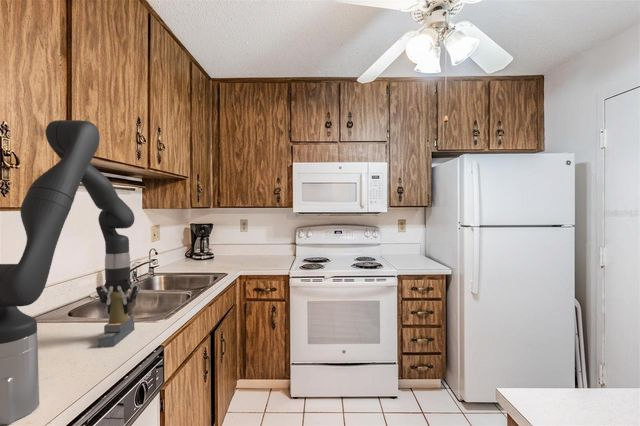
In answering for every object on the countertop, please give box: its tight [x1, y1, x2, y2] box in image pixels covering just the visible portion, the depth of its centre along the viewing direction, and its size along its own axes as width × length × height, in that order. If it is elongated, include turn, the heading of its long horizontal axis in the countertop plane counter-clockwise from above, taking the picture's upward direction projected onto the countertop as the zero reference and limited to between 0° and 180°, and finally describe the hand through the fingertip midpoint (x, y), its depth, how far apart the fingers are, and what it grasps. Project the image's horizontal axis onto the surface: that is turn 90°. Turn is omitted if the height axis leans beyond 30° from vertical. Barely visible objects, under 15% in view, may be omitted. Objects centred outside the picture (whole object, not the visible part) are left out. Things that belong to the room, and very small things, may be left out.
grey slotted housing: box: [97, 315, 135, 348], centre depth 114 cm, size 14×5×6 cm, turn 5°
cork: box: [108, 291, 130, 324], centre depth 115 cm, size 6×6×11 cm
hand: (118, 314), depth 115 cm, fingers closed on cork, 4 cm apart
